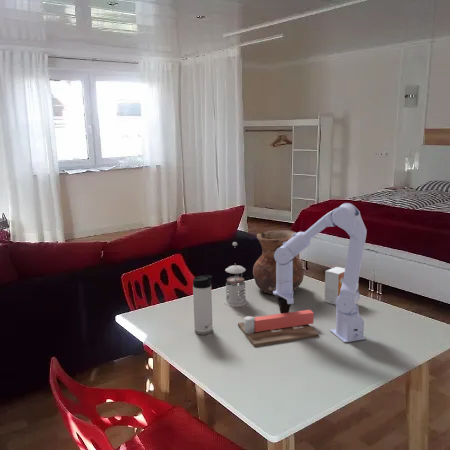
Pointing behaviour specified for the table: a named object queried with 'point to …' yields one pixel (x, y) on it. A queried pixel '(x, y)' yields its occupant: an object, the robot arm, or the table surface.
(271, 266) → the jug
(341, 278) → the small box
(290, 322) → the swing arm
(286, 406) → the table surface
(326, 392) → the table surface
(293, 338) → the label board
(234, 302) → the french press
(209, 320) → the travel mug
